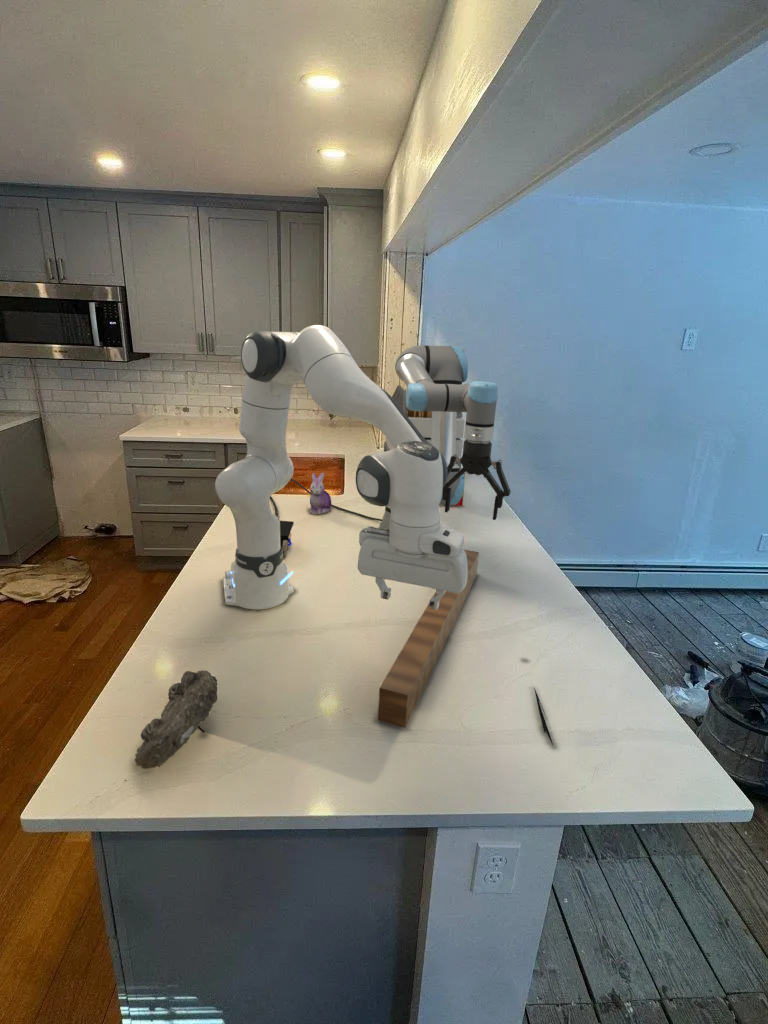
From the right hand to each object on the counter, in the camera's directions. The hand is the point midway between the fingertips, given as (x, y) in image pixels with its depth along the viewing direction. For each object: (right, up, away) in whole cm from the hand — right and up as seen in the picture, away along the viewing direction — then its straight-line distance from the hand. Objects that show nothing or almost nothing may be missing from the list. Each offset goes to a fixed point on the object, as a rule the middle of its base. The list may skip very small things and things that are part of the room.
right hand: (470, 514), depth 160 cm
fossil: (-61, -39, -55) cm, 91 cm away
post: (-11, -29, -19) cm, 36 cm away
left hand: (-20, -16, -54) cm, 60 cm away
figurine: (-49, +1, +59) cm, 77 cm away
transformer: (-7, +20, +115) cm, 117 cm away
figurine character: (-58, -11, +23) cm, 63 cm away
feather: (+7, -38, -43) cm, 57 cm away
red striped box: (+3, +8, +84) cm, 84 cm away
